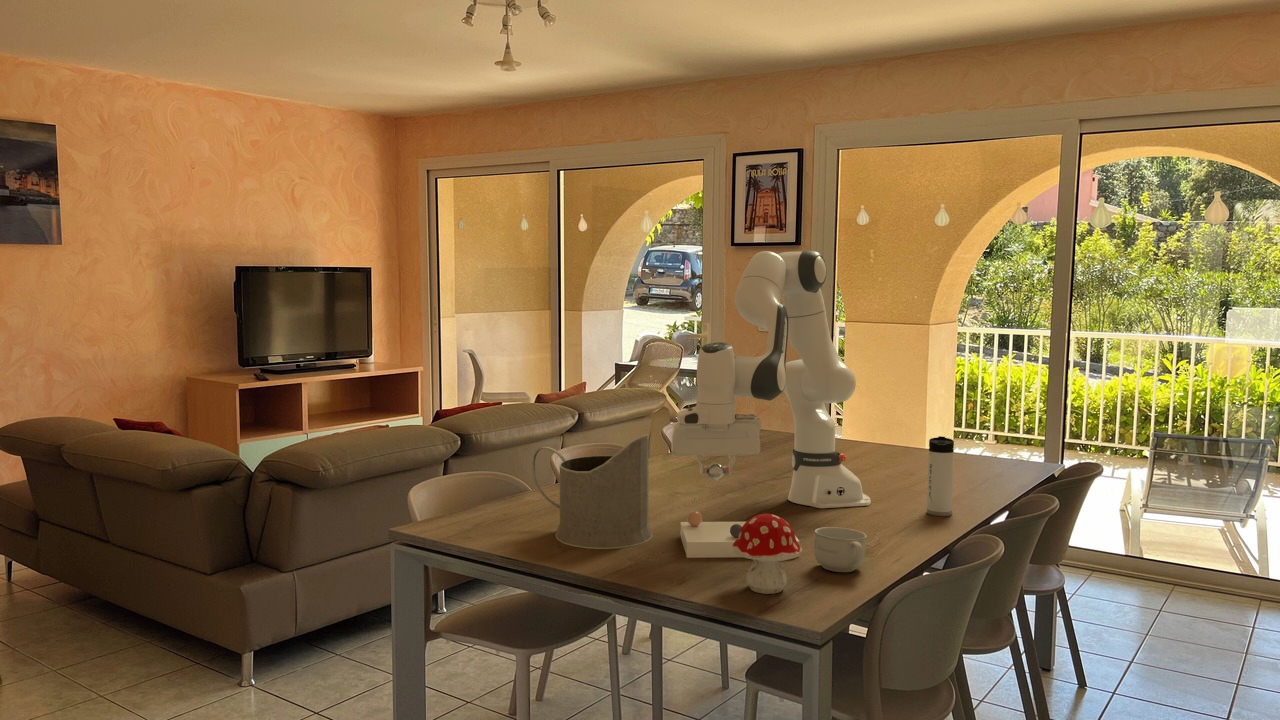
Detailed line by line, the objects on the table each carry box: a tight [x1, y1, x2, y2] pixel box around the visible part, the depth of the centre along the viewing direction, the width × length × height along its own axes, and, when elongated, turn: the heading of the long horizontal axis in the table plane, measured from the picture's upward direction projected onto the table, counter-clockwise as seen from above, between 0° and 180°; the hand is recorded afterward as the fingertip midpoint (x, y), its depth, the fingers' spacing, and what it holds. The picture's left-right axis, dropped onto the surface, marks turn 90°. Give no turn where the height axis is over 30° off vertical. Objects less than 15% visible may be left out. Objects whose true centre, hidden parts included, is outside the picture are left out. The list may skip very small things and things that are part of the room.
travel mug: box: [926, 435, 955, 517], centre depth 241 cm, size 6×7×20 cm
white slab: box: [680, 521, 800, 559], centre depth 212 cm, size 25×17×4 cm
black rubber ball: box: [730, 524, 742, 538], centre depth 206 cm, size 3×3×3 cm
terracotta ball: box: [686, 510, 703, 526], centre depth 216 cm, size 4×4×4 cm
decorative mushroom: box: [732, 513, 803, 595], centre depth 182 cm, size 14×14×15 cm
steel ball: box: [707, 462, 725, 481], centre depth 210 cm, size 4×4×4 cm
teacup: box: [813, 526, 868, 573], centre depth 194 cm, size 14×11×8 cm
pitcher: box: [531, 434, 654, 550], centre depth 222 cm, size 23×32×25 cm
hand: (715, 474), depth 211 cm, fingers closed on steel ball, 4 cm apart
